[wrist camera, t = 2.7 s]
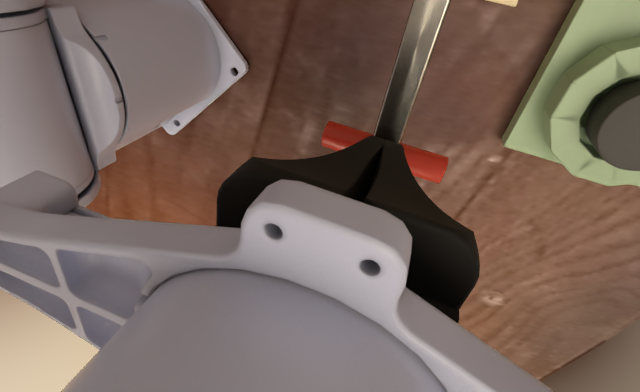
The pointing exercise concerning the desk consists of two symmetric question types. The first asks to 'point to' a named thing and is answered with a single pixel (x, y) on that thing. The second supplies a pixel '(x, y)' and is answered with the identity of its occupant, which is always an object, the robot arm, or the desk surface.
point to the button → (617, 126)
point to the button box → (579, 88)
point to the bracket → (506, 2)
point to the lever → (403, 92)
